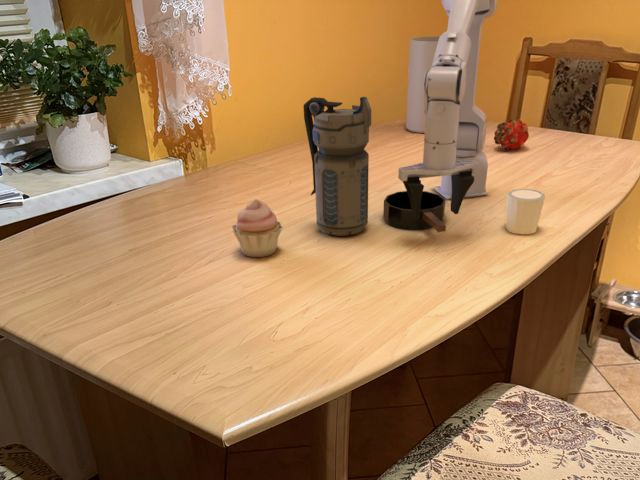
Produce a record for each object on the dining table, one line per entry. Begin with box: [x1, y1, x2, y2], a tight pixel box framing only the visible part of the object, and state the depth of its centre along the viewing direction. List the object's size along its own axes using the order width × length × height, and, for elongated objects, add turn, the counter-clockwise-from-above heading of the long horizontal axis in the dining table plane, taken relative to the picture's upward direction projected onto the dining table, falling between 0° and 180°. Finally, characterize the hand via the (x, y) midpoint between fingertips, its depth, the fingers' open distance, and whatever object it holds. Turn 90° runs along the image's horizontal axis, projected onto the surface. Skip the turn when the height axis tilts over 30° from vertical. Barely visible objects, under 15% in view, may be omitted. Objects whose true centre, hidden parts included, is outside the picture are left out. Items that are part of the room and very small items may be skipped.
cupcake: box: [231, 199, 284, 258], centre depth 115 cm, size 9×9×10 cm
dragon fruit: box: [493, 118, 530, 152], centre depth 172 cm, size 8×8×12 cm
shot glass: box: [505, 188, 546, 235], centre depth 122 cm, size 7×7×7 cm
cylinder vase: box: [405, 36, 440, 134], centre depth 189 cm, size 12×12×25 cm
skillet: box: [382, 190, 447, 233], centre depth 126 cm, size 20×12×4 cm, turn 13°
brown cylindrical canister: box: [303, 96, 372, 237], centre depth 120 cm, size 10×13×25 cm
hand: (435, 214), depth 119 cm, fingers open, 7 cm apart
